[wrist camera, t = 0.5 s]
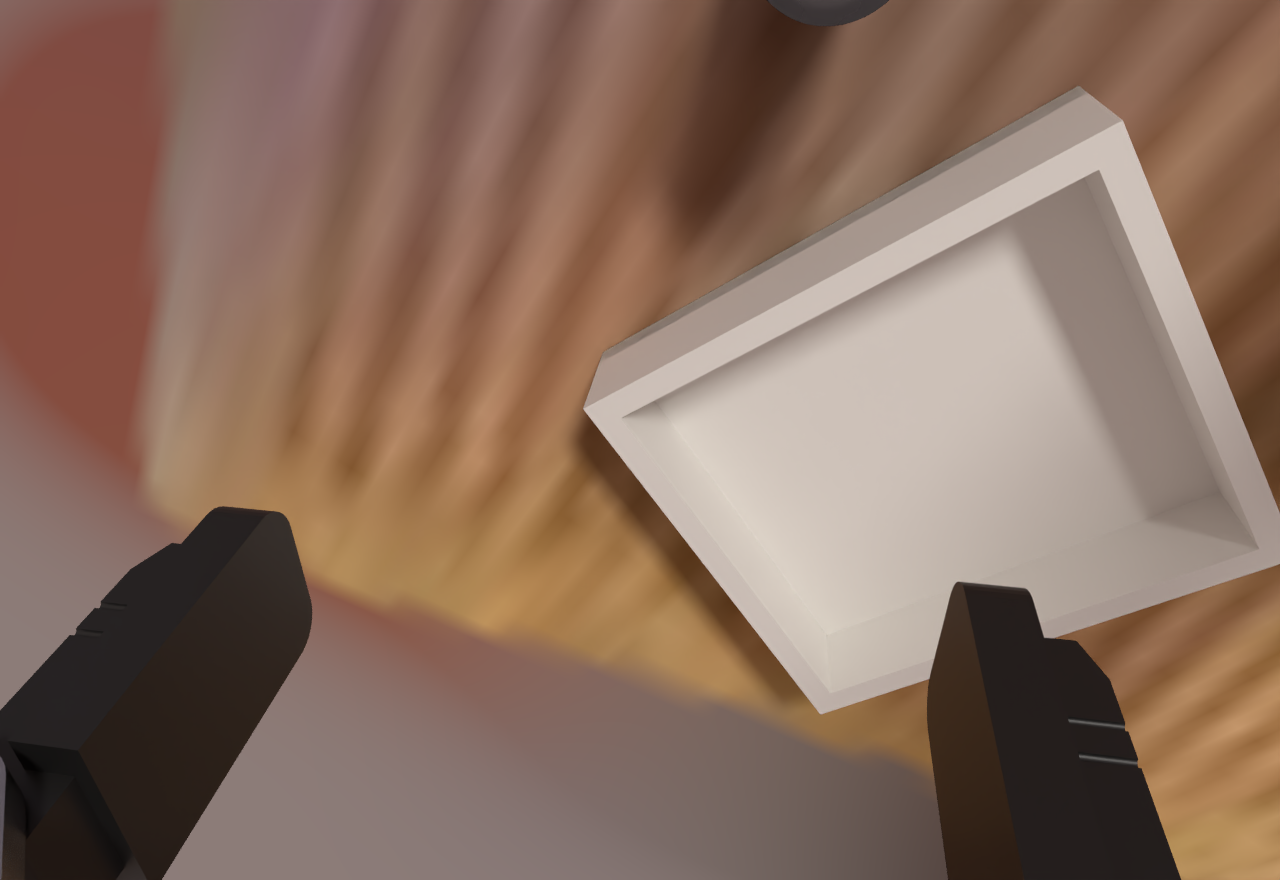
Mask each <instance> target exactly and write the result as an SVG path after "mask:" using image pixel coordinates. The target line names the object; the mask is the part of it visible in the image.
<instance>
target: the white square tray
mask: <svg viewBox="0 0 1280 880" xmlns="http://www.w3.org/2000/svg"><path fill="white" fill-rule="evenodd" d="M583 409H584V411H585V412H586V413H587V415H588V416H589V417H590V418H591V420H592V421H593V422H594V424H595V425H596V426H597V427H598V429H599V430H600V431H601V433H602V434H603V435H604V436H605V438H606V439H607V440H608V442H609V443H610V444H611V445H612V447H613V448H614V449H615V451H616V452H617V453H618V454H619V456H620V457H621V458H622V460H623V461H624V462H625V464H626V465H627V466H628V467H629V469H630V470H631V471H632V473H633V474H634V475H635V476H636V478H637V479H638V480H639V482H640V483H641V484H642V485H643V487H644V488H645V489H646V491H647V492H648V493H649V494H650V496H651V497H652V498H653V500H654V501H655V502H656V503H657V505H658V506H659V507H660V509H661V510H662V511H663V512H664V514H665V515H666V516H667V518H668V519H669V520H670V521H671V523H672V524H673V525H674V527H675V528H676V529H677V530H678V532H679V533H680V534H681V536H682V537H683V538H684V539H685V541H686V542H687V543H688V545H689V546H690V547H691V548H692V550H693V551H694V552H695V554H696V555H697V556H698V557H699V559H700V560H701V561H702V563H703V564H704V565H705V566H706V568H707V569H708V570H709V572H710V573H711V574H712V575H713V577H714V578H715V579H716V581H717V582H718V583H719V585H720V586H721V587H722V588H723V590H724V591H725V592H726V594H727V595H728V596H729V597H730V599H731V600H732V601H733V603H734V604H735V605H736V606H737V608H738V609H739V610H740V612H741V613H742V614H743V615H744V617H745V618H746V619H747V621H748V622H749V623H750V624H751V626H752V627H753V628H754V630H755V631H756V632H757V633H758V635H759V636H760V637H761V639H762V640H763V641H764V642H765V644H766V645H767V646H768V648H769V649H770V650H771V651H772V653H773V654H774V655H775V657H776V658H777V659H778V660H779V662H780V663H781V664H782V666H783V667H784V668H785V669H786V671H787V672H788V673H789V675H790V676H791V677H792V678H793V680H794V681H795V682H796V684H797V685H798V686H799V687H800V689H801V690H802V691H803V693H804V694H805V695H806V697H807V698H808V699H809V700H810V702H811V703H812V704H813V706H814V707H815V708H816V709H817V711H818V712H819V713H820V715H821V714H824V713H827V712H830V711H833V710H836V709H839V708H842V707H845V706H848V705H851V704H854V703H857V702H860V701H864V700H867V699H870V698H873V697H876V696H879V695H882V694H885V693H888V692H891V691H894V690H897V689H900V688H903V687H906V686H909V685H912V684H915V683H918V682H921V681H925V680H928V679H930V674H931V669H932V665H933V662H934V658H935V654H936V650H937V646H938V642H939V638H940V634H941V630H942V626H943V622H944V618H945V614H946V610H947V606H948V602H949V598H950V595H951V591H952V589H953V586H954V585H955V583H956V582H969V583H979V584H989V585H999V586H1009V587H1019V588H1026V589H1027V590H1028V591H1029V592H1030V594H1031V596H1032V598H1033V601H1034V605H1035V608H1036V611H1037V615H1038V618H1039V622H1040V625H1041V629H1042V632H1043V635H1044V638H1056V637H1059V636H1062V635H1065V634H1068V633H1071V632H1074V631H1077V630H1080V629H1083V628H1086V627H1089V626H1092V625H1095V624H1098V623H1101V622H1105V621H1108V620H1111V619H1114V618H1117V617H1120V616H1123V615H1126V614H1129V613H1132V612H1135V611H1138V610H1141V609H1144V608H1147V607H1150V606H1153V605H1156V604H1159V603H1162V602H1166V601H1169V600H1172V599H1175V598H1178V597H1181V596H1184V595H1187V594H1190V593H1193V592H1196V591H1199V590H1202V589H1205V588H1208V587H1211V586H1214V585H1217V584H1220V583H1224V582H1227V581H1230V580H1233V579H1236V578H1239V577H1242V576H1245V575H1248V574H1251V573H1254V572H1257V571H1260V570H1263V569H1266V568H1269V567H1272V566H1275V565H1278V564H1280V512H1279V510H1278V507H1277V505H1276V502H1275V500H1274V497H1273V495H1272V492H1271V490H1270V487H1269V485H1268V482H1267V480H1266V477H1265V475H1264V472H1263V470H1262V467H1261V465H1260V462H1259V460H1258V457H1257V455H1256V452H1255V450H1254V447H1253V445H1252V442H1251V440H1250V437H1249V435H1248V432H1247V430H1246V427H1245V425H1244V422H1243V420H1242V417H1241V415H1240V412H1239V410H1238V407H1237V405H1236V402H1235V400H1234V397H1233V395H1232V392H1231V390H1230V387H1229V385H1228V382H1227V380H1226V377H1225V375H1224V372H1223V370H1222V367H1221V365H1220V362H1219V360H1218V357H1217V355H1216V352H1215V350H1214V347H1213V345H1212V342H1211V340H1210V337H1209V335H1208V332H1207V330H1206V327H1205V325H1204V322H1203V320H1202V317H1201V315H1200V312H1199V310H1198V307H1197V305H1196V302H1195V300H1194V297H1193V295H1192V292H1191V290H1190V287H1189V285H1188V282H1187V280H1186V277H1185V275H1184V272H1183V270H1182V267H1181V265H1180V262H1179V260H1178V257H1177V255H1176V252H1175V250H1174V247H1173V245H1172V242H1171V240H1170V237H1169V235H1168V232H1167V230H1166V227H1165V225H1164V222H1163V220H1162V217H1161V215H1160V212H1159V210H1158V207H1157V205H1156V202H1155V200H1154V197H1153V195H1152V192H1151V190H1150V187H1149V185H1148V182H1147V180H1146V177H1145V175H1144V172H1143V170H1142V167H1141V165H1140V162H1139V160H1138V157H1137V155H1136V152H1135V150H1134V147H1133V145H1132V142H1131V140H1130V137H1129V135H1128V132H1127V130H1126V127H1125V125H1124V122H1123V120H1122V119H1120V118H1119V117H1118V116H1117V115H1115V114H1114V113H1113V112H1111V111H1110V110H1109V109H1108V108H1106V107H1105V106H1104V105H1102V104H1101V103H1100V102H1099V101H1097V100H1096V99H1095V98H1094V97H1092V96H1091V95H1090V94H1088V93H1087V92H1086V91H1085V90H1083V89H1082V88H1081V87H1080V86H1077V87H1075V88H1074V89H1072V90H1070V91H1068V92H1067V93H1065V94H1063V95H1061V96H1059V97H1058V98H1056V99H1054V100H1052V101H1050V102H1049V103H1047V104H1045V105H1043V106H1042V107H1040V108H1038V109H1036V110H1034V111H1033V112H1031V113H1029V114H1027V115H1025V116H1024V117H1022V118H1020V119H1018V120H1017V121H1015V122H1013V123H1011V124H1009V125H1008V126H1006V127H1004V128H1002V129H1000V130H999V131H997V132H995V133H993V134H992V135H990V136H988V137H986V138H984V139H983V140H981V141H979V142H977V143H975V144H974V145H972V146H970V147H968V148H967V149H965V150H963V151H961V152H959V153H958V154H956V155H954V156H952V157H951V158H949V159H947V160H945V161H943V162H942V163H940V164H938V165H936V166H934V167H933V168H931V169H929V170H927V171H926V172H924V173H922V174H920V175H918V176H917V177H915V178H913V179H911V180H909V181H908V182H906V183H904V184H902V185H901V186H899V187H897V188H895V189H893V190H892V191H890V192H888V193H886V194H884V195H883V196H881V197H879V198H877V199H876V200H874V201H872V202H870V203H868V204H867V205H865V206H863V207H861V208H859V209H858V210H856V211H854V212H852V213H851V214H849V215H847V216H845V217H843V218H842V219H840V220H838V221H836V222H834V223H833V224H831V225H829V226H827V227H826V228H824V229H822V230H820V231H818V232H817V233H815V234H813V235H811V236H809V237H808V238H806V239H804V240H802V241H801V242H799V243H797V244H795V245H793V246H792V247H790V248H788V249H786V250H784V251H783V252H781V253H779V254H777V255H776V256H774V257H772V258H770V259H768V260H767V261H765V262H763V263H761V264H759V265H758V266H756V267H754V268H752V269H751V270H749V271H747V272H745V273H743V274H742V275H740V276H738V277H736V278H734V279H733V280H731V281H729V282H727V283H726V284H724V285H722V286H720V287H718V288H717V289H715V290H713V291H711V292H709V293H708V294H706V295H704V296H702V297H701V298H699V299H697V300H695V301H693V302H692V303H690V304H688V305H686V306H684V307H683V308H681V309H679V310H677V311H676V312H674V313H672V314H670V315H668V316H667V317H665V318H663V319H661V320H659V321H658V322H656V323H654V324H652V325H651V326H649V327H647V328H645V329H643V330H642V331H640V332H638V333H636V334H634V335H633V336H631V337H629V338H627V339H626V340H624V341H622V342H620V343H618V344H617V345H615V346H613V347H611V348H609V349H608V350H606V351H604V352H603V354H602V357H601V359H600V362H599V365H598V368H597V371H596V374H595V377H594V379H593V382H592V385H591V388H590V391H589V394H588V397H587V400H586V402H585V405H584V408H583Z"/></svg>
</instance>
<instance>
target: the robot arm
mask: <svg viewBox="0 0 1280 880" xmlns="http://www.w3.org/2000/svg"><path fill="white" fill-rule="evenodd" d="M311 623H312V604H311V599H310V596H309V592H308V589H307V585H306V581H305V577H304V574H303V570H302V566H301V563H300V559H299V555H298V552H297V548H296V545H295V541H294V537H293V534H292V530H291V527H290V524H289V521H288V520H287V518H286V517H285V516H284V515H283V514H282V513H280V512H275V511H265V510H255V509H244V508H234V507H224V506H223V507H217V508H215V509H213V510H212V511H210V512H209V513H208V514H207V515H206V516H205V518H204V519H203V520H202V521H201V522H200V523H199V524H198V526H197V527H196V528H195V529H194V530H193V531H192V532H191V533H190V535H189V536H188V537H187V538H186V539H185V540H184V541H183V542H182V544H176V543H171V544H170V545H168V546H166V547H165V548H163V549H162V550H160V551H159V552H157V553H155V554H154V555H152V556H151V557H149V558H148V559H146V560H144V561H143V562H141V563H140V564H138V565H137V566H135V567H133V568H132V569H130V571H129V572H128V573H127V574H126V575H125V576H124V577H123V578H122V579H121V580H120V581H119V582H118V584H117V585H116V586H115V587H114V588H113V589H112V590H111V591H110V592H109V593H108V594H107V595H106V596H105V598H104V599H103V600H102V601H101V606H100V608H94V609H93V611H92V612H91V613H90V614H89V615H88V616H87V617H86V618H85V619H84V620H83V621H82V622H81V624H80V625H79V626H78V627H77V628H76V630H77V631H76V634H75V635H74V636H73V635H69V637H68V638H67V639H66V640H65V641H64V642H63V643H62V644H61V645H60V647H58V649H57V650H56V651H55V652H54V653H53V654H52V655H51V656H50V657H49V658H48V659H47V660H46V661H45V663H44V664H43V665H42V666H41V667H40V668H39V669H38V670H37V671H36V673H34V675H33V676H32V677H31V678H30V679H29V680H28V681H27V682H26V683H25V684H24V685H23V686H22V688H21V689H20V690H19V691H18V692H17V693H16V694H15V695H14V696H13V697H12V698H11V699H10V700H9V702H8V703H7V704H6V705H5V706H4V707H3V708H2V709H1V710H0V880H162V878H163V877H164V875H165V873H166V871H167V870H168V869H169V867H170V865H171V864H172V862H173V861H174V859H175V857H176V856H177V854H178V852H179V851H180V849H181V847H182V846H183V844H184V843H185V841H186V840H187V838H188V836H189V835H190V833H191V831H192V830H193V828H194V827H195V825H196V823H197V822H198V820H199V818H200V817H201V815H202V814H203V812H204V810H205V809H206V807H207V806H208V804H209V802H210V801H211V799H212V797H213V796H214V794H215V792H216V791H217V789H218V788H219V786H220V785H221V783H222V781H223V780H224V778H225V777H226V775H227V773H228V772H229V770H230V768H231V767H232V765H233V763H234V762H235V760H236V758H237V757H238V755H239V754H240V752H241V750H242V749H243V747H244V746H245V744H246V743H247V741H248V739H249V738H250V736H251V734H252V733H253V731H254V729H255V728H256V726H257V725H258V723H259V722H260V720H261V718H262V717H263V715H264V713H265V712H266V710H267V708H268V707H269V705H270V704H271V702H272V701H273V699H274V697H275V696H276V694H277V692H278V691H279V689H280V687H281V686H282V684H283V683H284V681H285V680H286V678H287V676H288V675H289V673H290V671H291V670H292V668H293V667H294V665H295V663H296V662H297V660H298V658H299V657H300V655H301V653H302V652H303V650H304V648H305V645H306V643H307V640H308V637H309V633H310V629H311ZM927 723H928V733H929V741H930V748H931V756H932V763H933V770H934V778H935V785H936V793H937V800H938V807H939V815H940V823H941V830H942V838H943V845H944V852H945V860H946V868H947V875H948V880H1181V878H1180V875H1179V872H1178V870H1177V867H1176V864H1175V861H1174V858H1173V856H1172V853H1171V850H1170V847H1169V844H1168V842H1167V839H1166V836H1165V833H1164V830H1163V828H1162V825H1161V822H1160V819H1159V816H1158V813H1157V811H1156V808H1155V805H1154V802H1153V799H1152V797H1151V794H1150V791H1149V788H1148V785H1147V783H1146V780H1145V777H1144V774H1143V771H1142V769H1141V768H1138V765H1137V761H1138V757H1137V755H1136V752H1135V749H1134V746H1133V743H1132V741H1131V738H1130V735H1129V732H1127V731H1125V721H1124V718H1123V715H1122V713H1121V710H1120V707H1119V704H1118V701H1117V699H1116V696H1115V693H1114V690H1113V687H1112V685H1111V682H1110V680H1109V678H1108V677H1107V676H1106V675H1105V674H1104V673H1103V671H1102V670H1101V669H1100V668H1099V667H1098V666H1097V664H1096V663H1095V662H1094V661H1093V660H1092V659H1091V657H1090V656H1089V655H1088V654H1087V653H1086V652H1085V650H1084V649H1083V648H1082V647H1081V646H1080V645H1079V643H1078V642H1077V641H1073V640H1063V639H1054V638H1044V635H1043V632H1042V629H1041V625H1040V622H1039V618H1038V615H1037V611H1036V608H1035V605H1034V601H1033V598H1032V596H1031V594H1030V592H1029V591H1028V590H1027V589H1026V588H1019V587H1009V586H999V585H989V584H979V583H969V582H956V583H955V585H954V586H953V589H952V591H951V595H950V598H949V602H948V606H947V610H946V614H945V618H944V622H943V626H942V630H941V634H940V638H939V642H938V646H937V650H936V654H935V658H934V662H933V665H932V669H931V674H930V679H929V686H928V697H927Z"/></svg>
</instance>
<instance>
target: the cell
mask: <svg viewBox="0 0 1280 880" xmlns="http://www.w3.org/2000/svg"><path fill="white" fill-rule="evenodd" d="M888 1H889V0H768V2H769V3H770V4H771V5H773V6H774V7H775V8H776V9H777V10H778V11H780V12H781V13H783V14H784V15H786V16H788V17H790V18H792V19H794V20H796V21H799V22H802V23H805V24H809V25H815V26H836V25H843V24H847V23H850V22H854V21H856V20H859V19H861V18H864V17H866V16H867V15H869V14H871V13H873V12H874V11H876V10H877V9H879V8H880V7H881V6H883V5H884V4H885V3H887V2H888Z"/></svg>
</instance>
